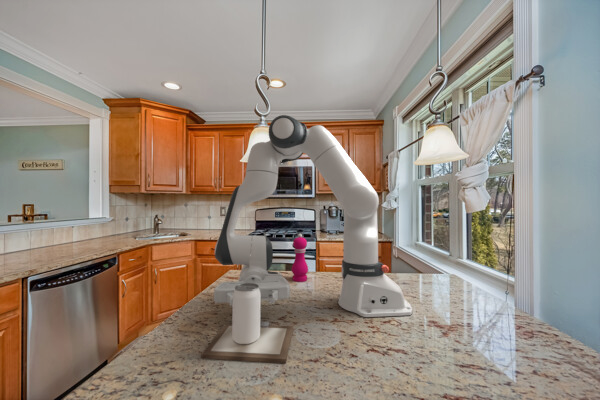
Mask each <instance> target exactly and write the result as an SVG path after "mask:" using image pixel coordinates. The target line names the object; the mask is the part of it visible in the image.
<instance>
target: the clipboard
mask: <svg viewBox="0 0 600 400" xmlns="http://www.w3.org/2000/svg"><path fill="white" fill-rule="evenodd" d="M293 332H294V326H293V325H277V324H274V325H273V324H270V321H260V337H259V339H258V340H257V341H256V342H254V343H251V344H247V345H240V344H237V343H235V342H234V341H233V339H232V322H231V323H230V322H226V323H225V324H224V325H223V327H222V328H221V329H220V330H219V332H218V333H217V334H216V335H215V336H214V338H213V339H212V340H211V341H210V343H209V344H208V345H207V346H206V348H205V349H204V350H203V351H202V353H201V355H200V358H201V359H209V360H225V361H227V360H228V361H241V362H242V361H246V362H261V363H278V364H286V363H287V358H288V354H289V351H290V346H291V341H292V336H293Z"/></svg>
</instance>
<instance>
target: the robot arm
mask: <svg viewBox="0 0 600 400" xmlns="http://www.w3.org/2000/svg"><path fill="white" fill-rule="evenodd" d="M268 136H269V137H268V138H269V140H268V141H266V142H265V141H259V142H257V143H255V144H253V145H252V146H251V148H250V151H249V154H248V158H247V161H246V168H245V175H244V179H243V181H242V183H241V184H240V185H238V186H236V187H235V188H234V190H233V191H232V194H231V198H230V200H229V204H228V206H227V207H228V208H227V210H226V213H225V218H224V220H223V221H224V222H223V224H222V226H221V228H222V229H221V231H220V234H219V237H218V239H217V241H216V244H215V247H214V258H215V259H216V260H217V261H218V263H220V264H221V265H222V266H234V265H236V266H237V265H241V266H242V265H243V267H242V268H241V270H240V274H239V278H238V280H236V281H234V280H233V281H231V280H230V281H223V282H220V283H218V285H217V286H216V287H214V290H213V302H214V303H216V304H229V307H233V293H234V290H235V286H237V285H239V284H243V283H254V284H257V285H259V287H258V288H259V290H260V295H261V301H268V304H275V303H276V301H278V300H279V301H280V300H287V299H289V298H290V296H291V286H290V283H289V281H288V279H286V278H285V277H284V276H283V274H282V272H277V271H269V270H270V268H272V265H273V258H274V257H273V256H274V253H273V252H274V251H273V250H274V249H273V244H272V242H271V240H270V239H269V238H268V237H267V236H266V235H265V236H264V235H247V234H245V235H243V234H236V233H235V230H236V225H237V222H238V219H239V215H240V213H241V210H242V209H243V208H244V207H245V206H247V205H249V204H252V203H255V202H259V201H263V200H265V199H268V198H269V197H271V196H272V195H273V194H274V193H275V192H276V190H277V185H278V179H279V168H280V163H281V164H283V163H287V162H293V161H297V160H298V159H300V158H301V157H302V155H303V154H305V155H307V156H308V157H309V159H310V161H311V162H312V163H313V165H314V167H315V168H316V169H317V170H318V172H319V174H320V175H321V177H322V178H323V180H324V181H325V182H326V184H327V186H328V188H329V189H330V190H331V192H332V194H333V195H334V197H335V198H336V200H337V202H338V203H339V205H340V206H341V208H342V210H343V211H344V219H343V220H344V222H343V237H342V238H343V247H342V248H343V250H342V254H343V259H342V261H341V278H342V284H341V291H340V293H339V294H340V295H339V298H338V302H337V303H338V305H339V306H340V307H341V308H342V309H344V310H346V311H348V312H350V313H355V314H357V315H359V316H360V317H364V318H376V317H380V318H381V317H394V316H395V317H399V316H411V315H412V314H413V308H412V305H411V304H410V303H409V301H407V300H406V299H405V297H404V293H403V290H402V289H401V287H400V286H399V285H398V284H397V283H396V282H395V281H394V280H393V279H391V278H390V277H389V276H387V275H386V273H389V271H390V268H389V266H388V265H386V264H384V263H382V262H381V261H379V231H378V230H379V229H378V228H379V227H378V208H379V203H380V199H379V195H378V193H377V191H376V190H375V189H374V187H373V186H372V184H371V183H370V182H369V181H368V179H367V178H366V176H365V175H364V174H363V173H362V171H360V169H359V168H358V167H357V165H356V164H355V163H354V162H353V160H352V159H351V158H350V156H349V155H348V153H347V151H346V150H345V148H343V146H342V145H341V144H340V142H339V141H338V140H337V138H336V137H335V136H334V135H333V134H332V133H331V131H329V130H328V129H327V128H325V126H323V125H320V124H319V125H318V124H317V125H313V126H311V127H310V128H307V125H306V124H305V123H304V122H302V121H299V120H297V119H296V118H294V117H292V116H290V115H286V114H283V115H281V114H280V115H278V116H276V117H275V118H273V119H272V121H271V122H270V124H269V127H268Z"/></svg>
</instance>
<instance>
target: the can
mask: <svg viewBox="0 0 600 400" xmlns="http://www.w3.org/2000/svg"><path fill="white" fill-rule="evenodd" d="M258 287H259V285H257V284H254V283H243V284H239V285H237V286H235V290H234V293H233V306H231V307H232V315H231V317H232V321H231V323H232V339H233V341H234V342H235V343H237V344H240V345H247V344H251V343H254V342H256V341H257V340H258V339H259V337H260V322H261V295H260V290H259V288H258Z"/></svg>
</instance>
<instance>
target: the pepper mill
mask: <svg viewBox="0 0 600 400" xmlns="http://www.w3.org/2000/svg"><path fill="white" fill-rule="evenodd" d="M292 245H293V247H294V249H293V250H294V255H295V257H294V258H295V259H294V261H293V264H292V266H291V272H292V274H293V275H292V281H293V282H297V283H304V282H307V280H308V273H309V266H308V264H307V260H306V256H305V254H306V247H307V245H308V242H307V239H306V238H305V237H303V235H302V233H298V235H297V237H296V238H294V240H293V242H292Z"/></svg>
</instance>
